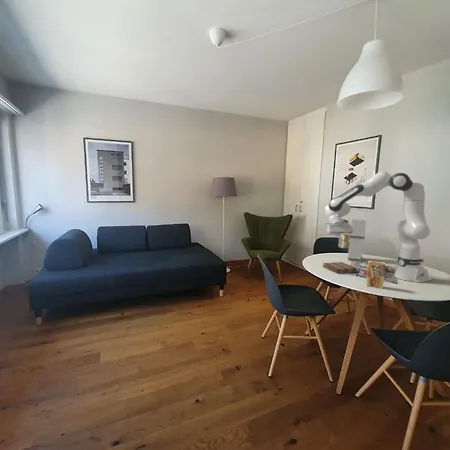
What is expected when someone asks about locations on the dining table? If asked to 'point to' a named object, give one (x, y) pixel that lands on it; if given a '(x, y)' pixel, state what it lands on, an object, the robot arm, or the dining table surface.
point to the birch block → (344, 240)
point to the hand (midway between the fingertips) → (344, 238)
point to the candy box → (375, 274)
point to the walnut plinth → (339, 267)
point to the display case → (356, 240)
